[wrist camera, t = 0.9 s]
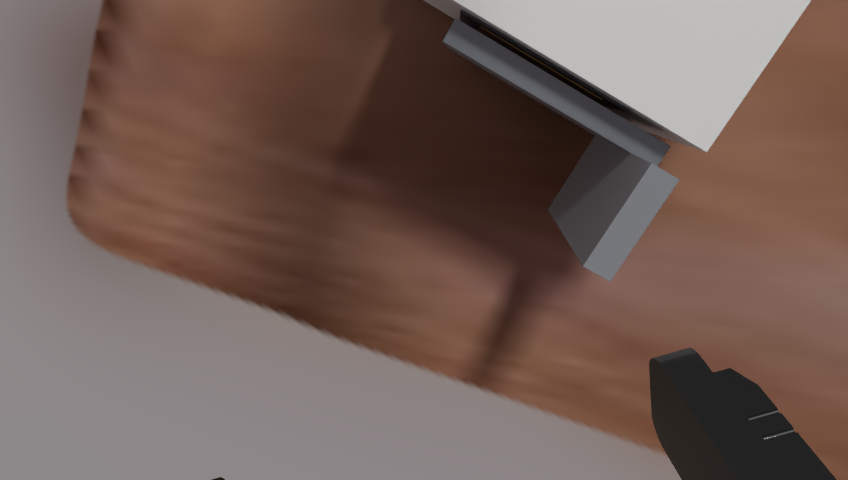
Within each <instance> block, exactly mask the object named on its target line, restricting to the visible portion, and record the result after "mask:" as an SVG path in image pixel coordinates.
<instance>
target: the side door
mask: <svg viewBox="0 0 848 480" xmlns="http://www.w3.org/2000/svg"><path fill="white" fill-rule="evenodd" d="M443 43H444V44H445V46H446V48H448V49H450V50H451V51H453V52H455V53H456V54H458V55H460V56H461V57H463V58H465V59H466V60H468V61H470V62H472V63H473V64H475V65H477V66H478V67H480V68H482V69H483V70H485V71H487V72H488V73H490V74H492V75H493V76H495V77H497V78H498V79H500V80H502V81H504V82H505V83H507V84H509V85H510V86H512V87H514V88H515V89H517V90H519V91H520V92H522V93H524V94H525V95H527V96H529V97H531V98H532V99H534V100H536V101H537V102H539V103H541V104H542V105H544V106H546V107H547V108H549V109H551V110H552V111H554V112H556V113H557V114H559V115H561V116H563V117H564V118H566V119H568V120H569V121H571V122H573V123H574V124H576V125H578V126H579V127H581V128H583V129H584V130H586V131H588V132H590V133H591V134H593V135H595V136H594V138H593V139H592V141H591V142H590V144H589V146H588V147H587V149H586V150H585V152H584V153H583V155H582V157H581V158H580V160H579V161H578V163H577V164H576V166H575V168H574V169H573V171H572V172H571V174H570V175H569V177H568V179H567V180H566V182H565V183H564V185H563V186H562V188H561V190H560V191H559V193H558V194H557V196H556V197H555V199H554V201H553V202H552V204H551V205H550V207H549V208H548V211H549V213H550V214H551V216H552V218H553V219H554V221H555V222H556V224H557V226H558V227H559V229H560V230H561V232H562V234H563V235H564V237H565V238H566V240H567V242H568V243H569V245H570V246H571V248H572V250H573V251H574V253H575V254H576V256H577V258H578V259H579V261H580V262H581V264H582V266H583V267H585V268H587V269H589V270H590V271H592V272H594V273H596V274H597V275H599V276H601V277H602V278H604V279H606V280H608V281H609V282H610V281H611V279H612V278H613V276H614V275H615V274H616V272H617V271H618V269H619V268H620V266H621V265H622V263H623V262H624V260H625V259H626V257H627V256H628V254H629V253H630V252H631V250H632V249H633V247H634V246H635V244H636V243H637V241H638V240H639V238H640V237H641V235H642V234H643V233H644V231H645V230H646V228H647V227H648V225H649V224H650V222H651V221H652V219H653V218H654V216H655V215H656V214H657V212H658V211H659V209H660V208H661V206H662V205H663V203H664V202H665V200H666V199H667V197H668V196H669V195H670V193H671V192H672V190H673V189H674V187H675V186H676V184H677V183H678V181H679V179H678V178H676V177H674V176H672V175H671V174H669V173H667V172H666V171H664V170H662V169H661V168H659V167H657V166H658V164H659V163H660V161H661V160H662V158H663V157H664V155H665V154H666V152H667V151H668V149H669V148H670V146H669V145H667V144H665V143H664V142H662V141H660V140H659V139H657V138H655V137H654V136H652V135H650V134H649V133H647V132H645V131H644V130H642V129H640V128H639V127H637V126H635V125H634V124H632V123H630V122H629V121H627V120H625V119H624V118H622V117H620V116H619V115H617V114H615V113H614V112H612V111H610V110H609V109H607V108H605V107H604V106H602V105H600V104H599V103H597V102H595V101H593V100H592V99H590V98H588V97H587V96H585V95H583V94H582V93H580V92H578V91H577V90H575V89H573V88H572V87H570V86H568V85H567V84H565V83H563V82H562V81H560V80H558V79H557V78H555V77H553V76H552V75H550V74H548V73H547V72H545V71H543V70H542V69H540V68H538V67H537V66H535V65H533V64H532V63H530V62H528V61H527V60H525V59H523V58H522V57H520V56H518V55H517V54H515V53H513V52H512V51H510V50H508V49H507V48H505V47H503V46H502V45H500V44H498V43H496V42H495V41H493V40H491V39H490V38H488V37H486V36H485V35H483V34H481V33H480V32H478V31H476V30H475V29H473V28H471V27H470V26H468V25H466V24H465V23H463V22H461V21H460V20H458V19H456V18H455V20H454V21H453V23H452V25H451V27H450V29H449V30H448V32H447V34H446V36H445V38H444V40H443Z"/></svg>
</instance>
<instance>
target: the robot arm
mask: <svg viewBox="0 0 848 480" xmlns="http://www.w3.org/2000/svg"><path fill="white" fill-rule="evenodd" d="M649 371H650V390H651V409H652V419H653V423H654V427H655V430H656V433H657V435H658V438H659V440H660V443H661V445H662V447H663V448H664V450H665V452H666V454H667V455H668V457H669V459H670V460H671V462H672V464H673V465H674V467H675V469H676V470H677V472H678V474H679V476H680V477H681V479H682V480H836V479H835V477H834V476H833V475H832V474H831V473H830V471H829V470H828V469H827V468H826V467H825V465H824V464H823V463H822V462H821V460H820V459H819V458H818V457H817V456H816V454H815V453H814V452H813V451H812V450H811V448H810V447H809V446H808V445H807V444H806V442H805V441H804V440H803V439H802V438H801V436H800V435H799V434H798V433H795V431H794V429H793V427H792V425H791V424H790V423H789V422H788V421H787V419H786V418H785V417H784V416H783V415H782V413H779V412H778V410H777V407H776V406H775V405H774V404H773V403H772V401H771V400H770V399H769V398H768V397H767V395H766V394H765V393H764V392H763V390H762V389H761V388H760V387H759V386H758V385H757V384H755V383H754V382H752V381H751V380H749V379H747V378H746V377H744V376H742V375H741V374H739V373H737V372H736V371H734V370H733V369H731V368H729V369H725V370H722V371H718V372H714V373H713V372H712V371H711V370H710V368H709V367H708V366H707V364H706V363H705V362H704V360H703V359H702V358H701V356H700V355H699V354H698V353H697V352H696V351H695V350H694V349H692V348H688V349H684V350H680V351H677V352H673V353H670V354H666V355H663V356H659V357H655V358H652V359H651V360H650V363H649ZM213 480H225V479H223V478H221V477H220V478H216V479H213Z"/></svg>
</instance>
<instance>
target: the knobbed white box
mask: <svg viewBox="0 0 848 480" xmlns="http://www.w3.org/2000/svg"><path fill="white" fill-rule="evenodd" d="M423 1H425V2H427V3H428V4H430V5H432V6H433V7H435V8H437V9H438V10H440V11H442V12H443V13H445V14H447V15H448V16H450V17H452V18H453V19H455V18H456V19H458V20H460V21H461V22H463V23H465V24H466V25H468V26H470V27H471V28H473V29H475V30H476V31H478V32H480V33H481V34H483V35H485V36H486V37H488V38H490V39H491V40H493V41H495V42H496V43H498V44H500V45H502V46H503V47H505V48H507V49H508V50H510V51H512V52H513V53H515V54H517V55H518V56H520V57H522V58H523V59H525V60H527V61H528V62H530V63H532V64H533V65H535V66H537V67H538V68H540V69H542V70H543V71H545V72H547V73H548V74H550V75H552V76H553V77H555V78H557V79H558V80H560V81H562V82H563V83H565V84H567V85H568V86H570V87H572V88H573V89H575V90H577V91H578V92H580V93H582V94H583V95H585V96H587V97H588V98H590V99H592V100H593V101H595V102H597V103H599V104H600V105H602V106H604V107H605V108H607V109H609V110H610V111H612V112H614V113H615V114H617V115H619V116H620V117H622V118H624V119H625V120H627V121H629V122H630V123H632V124H634V125H635V126H637V127H639V128H640V129H642V130H644V131H645V132H648V133H651V134H654V135H657V136H660V137H663V138H666V139H669V140H672V141H675V142H678V143H681V144H684V145H687V146H690V147H693V148H696V149H699V150H702V151H705V152H707V151H708V150H709V148H710V147H711V145H712V144H713V142H714V141H715V140H716V138H717V137H718V135H719V134H720V132H721V131H722V129H723V128H724V126H725V125H726V124H727V122H728V121H729V119H730V118H731V116H732V115H733V113H734V112H735V110H736V109H737V108H738V106H739V105H740V103H741V102H742V100H743V99H744V97H745V96H746V94H747V93H748V91H749V90H750V89H751V87H752V86H753V84H754V83H755V81H756V80H757V78H758V77H759V75H760V74H761V73H762V71H763V70H764V68H765V67H766V65H767V64H768V62H769V61H770V59H771V58H772V57H773V55H774V54H775V52H776V51H777V49H778V48H779V46H780V45H781V43H782V42H783V41H784V39H785V38H786V36H787V35H788V33H789V32H790V30H791V29H792V27H793V26H794V25H795V23H796V22H797V20H798V19H799V17H800V16H801V14H802V13H803V11H804V10H805V9H806V7H807V6H808V4H809V3H810V1H811V0H423Z"/></svg>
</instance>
